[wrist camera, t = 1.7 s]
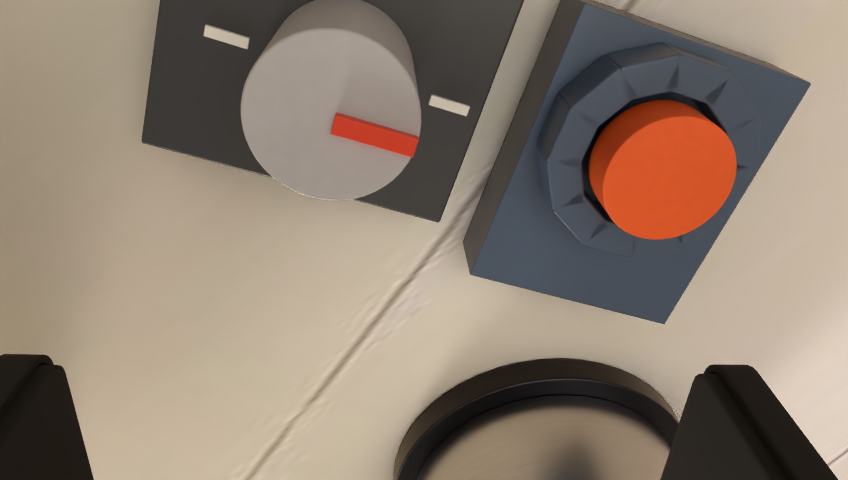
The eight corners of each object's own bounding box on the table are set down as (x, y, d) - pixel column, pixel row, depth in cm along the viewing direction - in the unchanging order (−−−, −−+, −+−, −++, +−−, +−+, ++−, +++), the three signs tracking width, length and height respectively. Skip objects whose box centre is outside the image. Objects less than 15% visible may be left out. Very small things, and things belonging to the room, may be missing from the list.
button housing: (462, 242, 29) (475, 300, 25) (564, -10, 24) (600, 12, 20) (642, 290, 31) (681, 350, 27) (772, 64, 26) (843, 98, 22)
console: (165, 115, 25) (138, 145, 22) (219, -248, 20) (193, -268, 17) (433, 191, 27) (439, 225, 25) (547, -119, 22) (570, -119, 19)
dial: (255, 117, 22) (222, 180, 18) (286, -25, 20) (257, 3, 16) (390, 156, 23) (391, 224, 19) (432, 23, 21) (446, 64, 17)
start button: (567, 199, 23) (580, 221, 22) (622, 82, 21) (641, 98, 20) (674, 230, 24) (694, 253, 23) (737, 120, 22) (763, 138, 21)
